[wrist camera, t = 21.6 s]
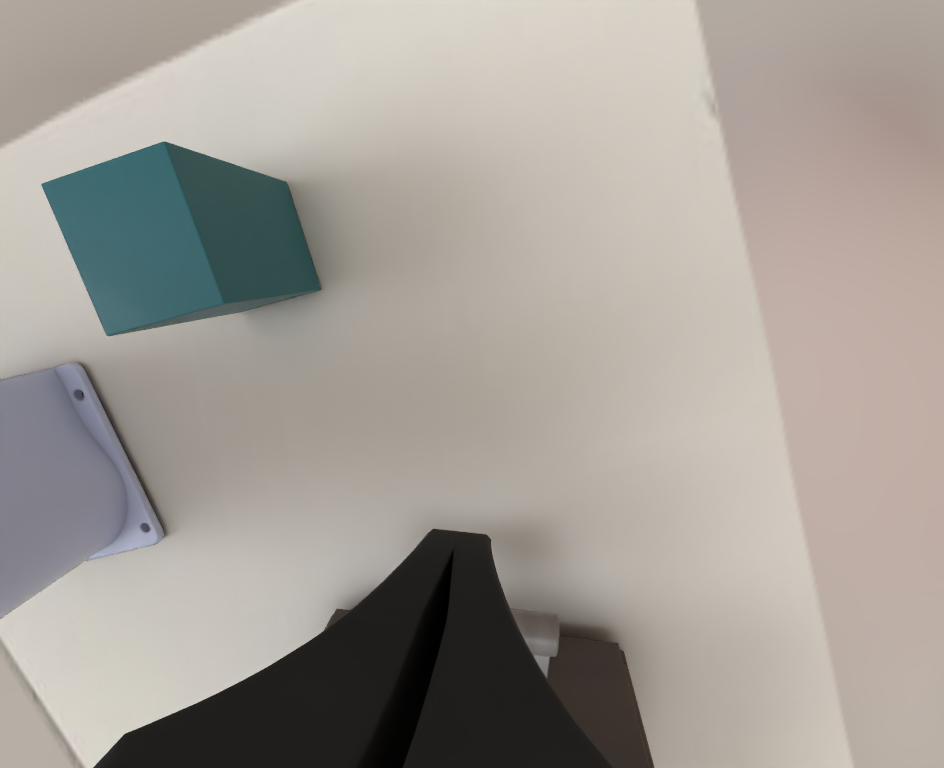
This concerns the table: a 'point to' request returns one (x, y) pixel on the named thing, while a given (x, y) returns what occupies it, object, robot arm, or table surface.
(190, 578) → the table surface
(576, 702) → the drawer
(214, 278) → the teal rectangular block
